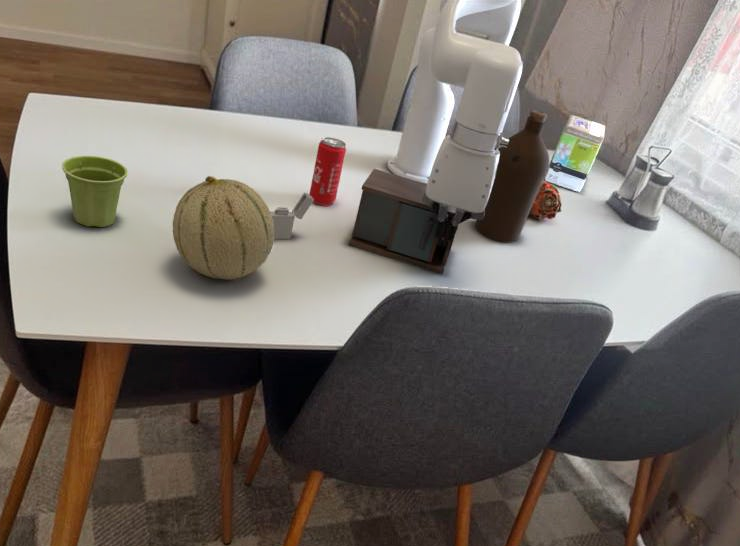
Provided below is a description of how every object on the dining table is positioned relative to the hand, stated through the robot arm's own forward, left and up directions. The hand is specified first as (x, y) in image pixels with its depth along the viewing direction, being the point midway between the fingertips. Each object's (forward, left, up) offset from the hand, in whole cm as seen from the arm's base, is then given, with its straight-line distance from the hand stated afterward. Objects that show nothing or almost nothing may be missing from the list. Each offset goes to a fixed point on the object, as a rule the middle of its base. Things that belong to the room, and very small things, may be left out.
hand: (441, 242), depth 120 cm
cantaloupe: (+28, -25, -7) cm, 38 cm away
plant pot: (+30, -48, -7) cm, 57 cm away
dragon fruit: (-48, +5, -7) cm, 49 cm away
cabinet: (-6, -9, -7) cm, 13 cm away
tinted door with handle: (0, -5, -5) cm, 7 cm away
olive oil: (-30, +2, -7) cm, 31 cm away
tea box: (-82, +4, -7) cm, 83 cm away
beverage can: (-10, -29, -7) cm, 31 cm away
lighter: (+9, -25, -7) cm, 27 cm away
